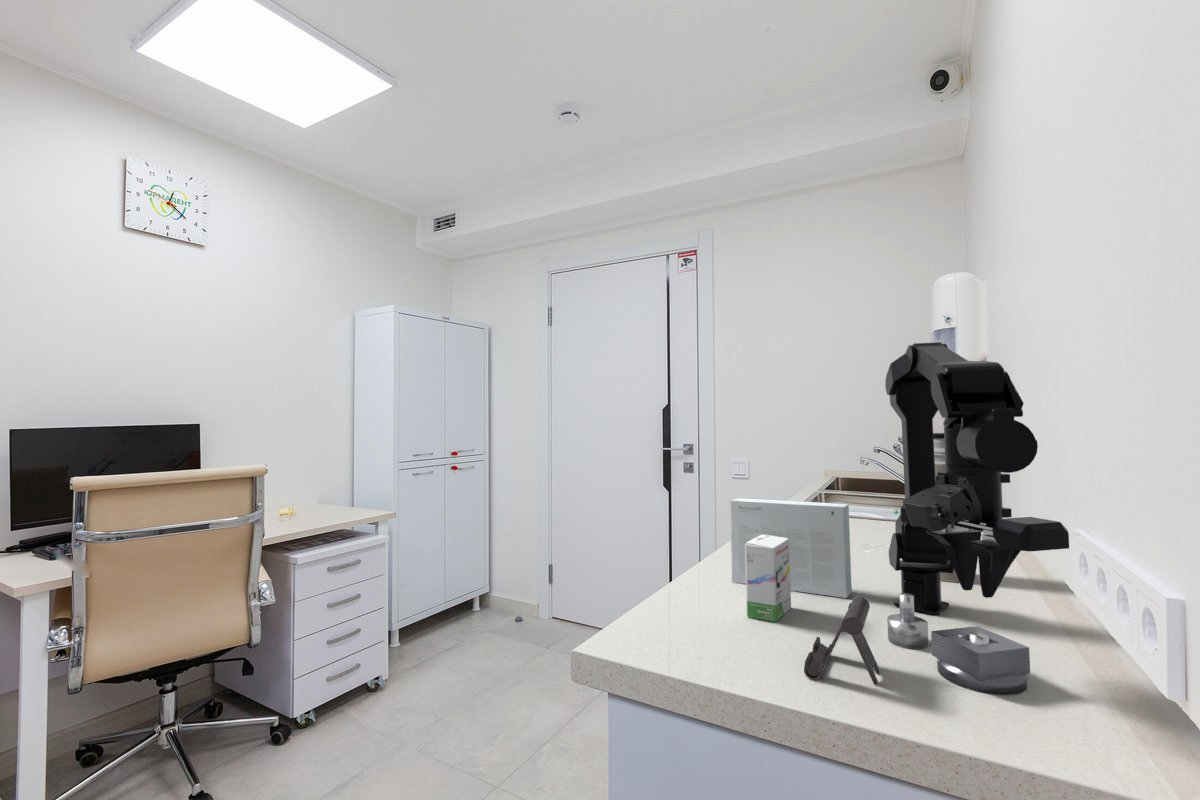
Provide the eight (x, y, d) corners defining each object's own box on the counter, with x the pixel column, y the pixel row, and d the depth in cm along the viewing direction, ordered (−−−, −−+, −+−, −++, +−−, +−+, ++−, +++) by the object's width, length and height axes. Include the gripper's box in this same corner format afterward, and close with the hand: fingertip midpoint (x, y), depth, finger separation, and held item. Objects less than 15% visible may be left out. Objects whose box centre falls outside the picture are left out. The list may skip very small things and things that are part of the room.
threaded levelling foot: (896, 632, 83) (894, 587, 83) (934, 642, 79) (932, 595, 79) (882, 641, 79) (880, 595, 80) (920, 652, 76) (919, 603, 76)
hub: (951, 654, 75) (949, 616, 75) (1035, 677, 68) (1033, 635, 68) (926, 676, 69) (925, 634, 69) (1016, 703, 62) (1014, 657, 62)
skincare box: (853, 591, 103) (850, 503, 103) (847, 599, 98) (844, 507, 98) (739, 575, 114) (737, 496, 114) (730, 582, 109) (728, 500, 110)
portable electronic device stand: (816, 652, 77) (814, 590, 77) (881, 664, 73) (879, 598, 73) (804, 678, 69) (802, 609, 69) (875, 693, 65) (873, 620, 65)
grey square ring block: (978, 649, 73) (977, 626, 73) (1030, 673, 66) (1029, 647, 66) (932, 655, 71) (931, 631, 71) (979, 680, 64) (978, 653, 65)
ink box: (776, 623, 87) (774, 546, 88) (745, 617, 90) (743, 543, 90) (792, 607, 94) (790, 536, 95) (763, 602, 97) (761, 533, 97)
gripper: (864, 461, 77) (867, 577, 76) (983, 474, 58) (989, 627, 58) (934, 459, 79) (938, 571, 79) (1070, 470, 61) (1076, 617, 60)
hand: (977, 593), depth 69 cm, fingers open, 3 cm apart
